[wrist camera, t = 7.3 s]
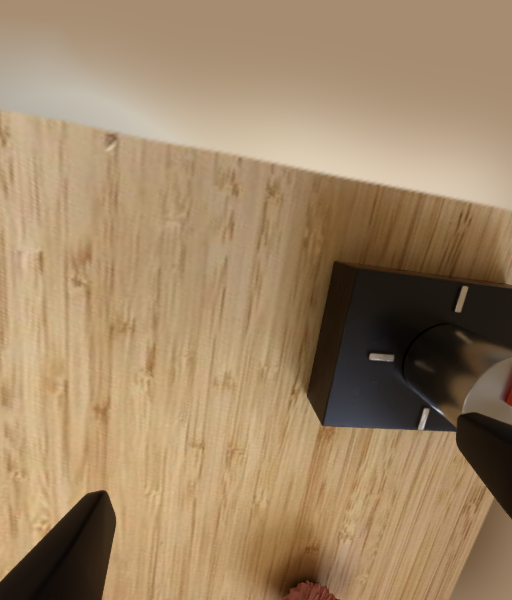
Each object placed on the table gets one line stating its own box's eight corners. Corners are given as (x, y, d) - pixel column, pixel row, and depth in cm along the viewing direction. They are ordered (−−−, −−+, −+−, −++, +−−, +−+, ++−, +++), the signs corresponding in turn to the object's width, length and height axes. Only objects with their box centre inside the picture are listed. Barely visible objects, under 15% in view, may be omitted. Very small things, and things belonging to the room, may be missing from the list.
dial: (462, 399, 17) (541, 455, 13) (394, 394, 16) (454, 452, 12) (487, 328, 16) (581, 364, 12) (415, 319, 15) (488, 355, 11)
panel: (306, 396, 19) (323, 428, 16) (333, 260, 17) (359, 268, 14) (464, 405, 21) (506, 436, 18) (507, 284, 19) (562, 295, 16)
